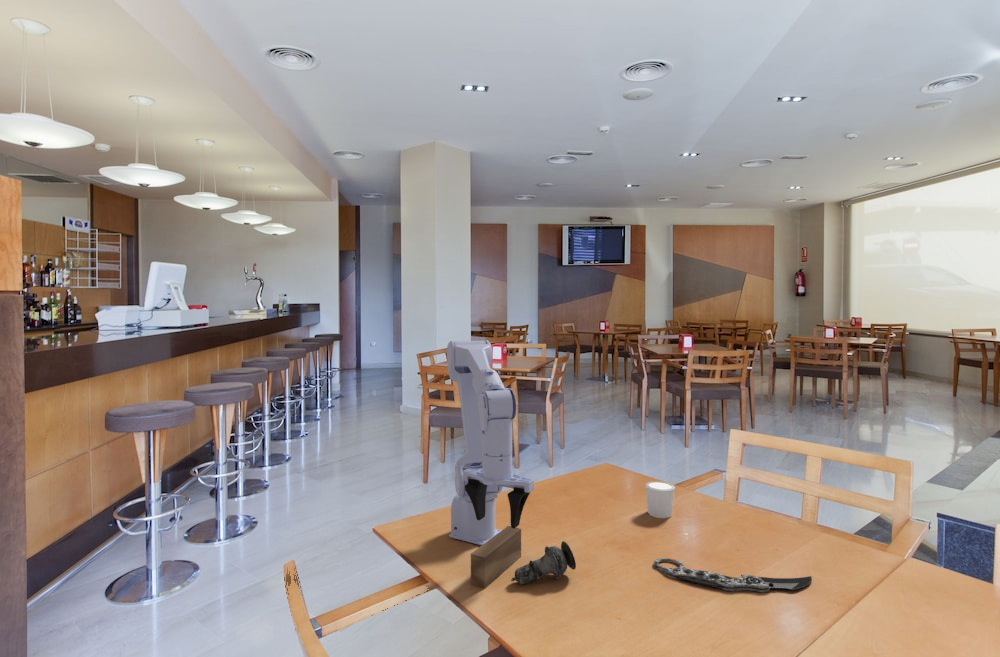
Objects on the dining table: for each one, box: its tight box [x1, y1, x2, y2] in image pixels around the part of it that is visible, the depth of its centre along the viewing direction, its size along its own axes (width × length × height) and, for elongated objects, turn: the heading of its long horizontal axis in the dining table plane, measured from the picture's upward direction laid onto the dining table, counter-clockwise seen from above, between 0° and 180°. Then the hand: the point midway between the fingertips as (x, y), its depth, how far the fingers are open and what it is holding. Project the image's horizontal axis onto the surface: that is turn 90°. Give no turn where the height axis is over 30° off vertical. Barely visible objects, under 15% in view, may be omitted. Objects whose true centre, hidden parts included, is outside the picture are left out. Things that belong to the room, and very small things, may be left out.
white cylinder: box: [645, 480, 676, 519], centre depth 130 cm, size 7×7×7 cm
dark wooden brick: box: [470, 525, 522, 590], centre depth 103 cm, size 3×14×6 cm, turn 150°
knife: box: [653, 557, 813, 593], centre depth 99 cm, size 28×2×10 cm
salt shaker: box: [511, 540, 577, 585], centre depth 99 cm, size 6×6×12 cm
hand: (497, 522), depth 103 cm, fingers open, 7 cm apart
